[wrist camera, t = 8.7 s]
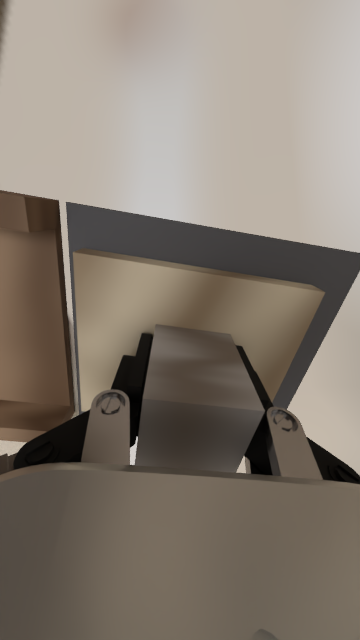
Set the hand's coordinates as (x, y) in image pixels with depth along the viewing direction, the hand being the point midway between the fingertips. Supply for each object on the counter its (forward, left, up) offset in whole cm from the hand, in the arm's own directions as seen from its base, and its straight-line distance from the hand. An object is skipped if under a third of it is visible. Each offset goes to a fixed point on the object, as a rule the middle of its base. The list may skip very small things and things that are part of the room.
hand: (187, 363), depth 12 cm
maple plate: (0, 0, -1) cm, 1 cm away
